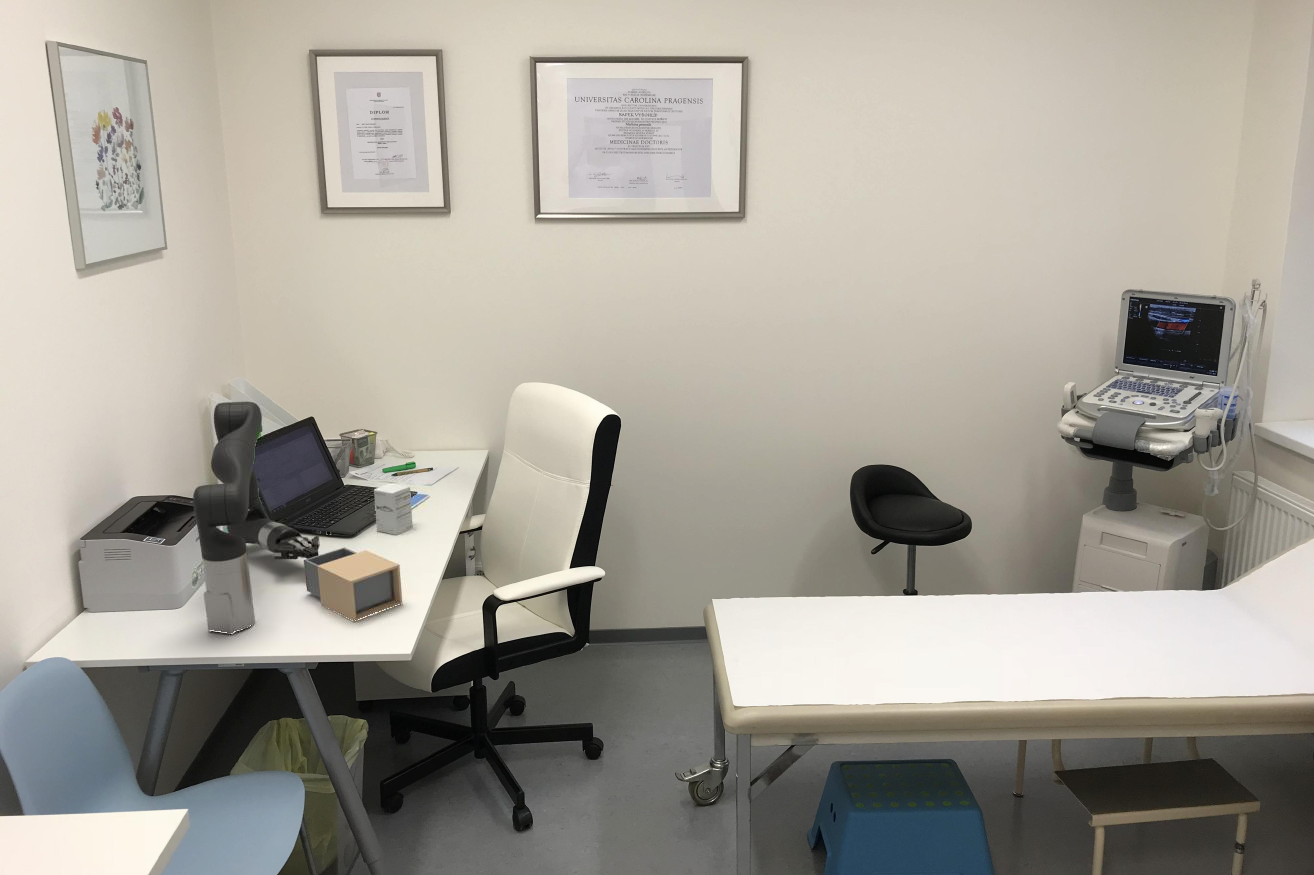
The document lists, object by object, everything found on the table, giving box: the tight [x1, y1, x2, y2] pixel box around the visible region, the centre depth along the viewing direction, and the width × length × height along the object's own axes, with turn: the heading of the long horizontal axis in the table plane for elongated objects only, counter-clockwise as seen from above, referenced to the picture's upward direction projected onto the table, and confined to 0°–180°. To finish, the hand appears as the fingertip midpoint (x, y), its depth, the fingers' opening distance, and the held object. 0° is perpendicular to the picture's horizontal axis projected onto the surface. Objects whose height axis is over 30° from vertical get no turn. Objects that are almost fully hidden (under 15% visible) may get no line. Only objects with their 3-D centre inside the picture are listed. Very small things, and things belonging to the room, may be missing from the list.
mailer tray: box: [303, 547, 394, 613], centre depth 242 cm, size 20×11×8 cm, turn 48°
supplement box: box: [373, 482, 413, 536], centre depth 287 cm, size 7×7×13 cm
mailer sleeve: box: [317, 550, 403, 622], centre depth 239 cm, size 14×13×10 cm
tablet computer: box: [411, 493, 431, 509], centre depth 310 cm, size 19×13×1 cm, turn 166°
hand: (315, 555), depth 251 cm, fingers closed
